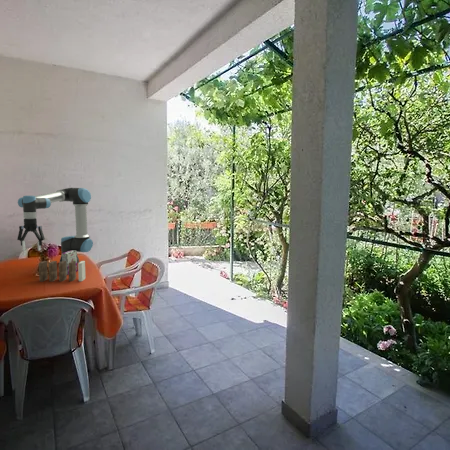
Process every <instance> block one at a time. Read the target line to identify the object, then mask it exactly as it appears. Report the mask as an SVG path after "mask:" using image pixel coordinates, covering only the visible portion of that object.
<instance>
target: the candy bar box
mask: <svg viewBox="0 0 450 450" xmlns="http://www.w3.org/2000/svg"><path fill="white" fill-rule="evenodd" d="M61 255H62V261H66V272H67V276H69V267H68V263H70V262H71V261H76V272H78V263H77V256H78V252H77V251H73V250H72V251H68V252H65V253H62V252H61Z"/></svg>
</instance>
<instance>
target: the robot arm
mask: <svg viewBox="0 0 450 450" xmlns="http://www.w3.org/2000/svg"><path fill="white" fill-rule="evenodd" d="M91 199H92V195H91V192H90V191H89V189H87V188H85V187H66V188H63V189H62V188H61V189H58V190H56V191H53V192H49V193H48V192H47V193H43V194H38V195H23V196H22V197H20V198H18V200H17V204H18V205H17V206H18V207H20V208H22V211H23V213H22V214H23V225H19V227H18V229H19V230H18V234H17V241H20V246H21V249H22V251H26V240H25V239H26V237H27V235H28V233H31V232H32V233H33V234H34V235H35V237H36V239H37V251H41V250H42V247H41V246H42V245H43V241H45V239H46V238H45V236H44V232H43V226H42V225H38V224H37V223H38V221H37V210H41V209H49V208H50V207H51V205H52V203H56V202H60V203H61V202H70V203H71V202H72V205H73V206H74V207H75V208H74V211H75V212H74V213H75V231H76V234H75V235H69V236H63V237H61V239H60V247H61V250H60V251H61V255H60V259H59V263H60V262H62V253H65V252H68V251H72V250H73V251H77V253H89V252H91V250H92V248H93V245H94V241H93V240H92V239H91V238H90V235H89V234H88V217H87V216H88V215H87V213H88V211H87V206H89V202H90V201H91ZM79 262H80V259H79V256H78V255H77V264H78V263H79Z"/></svg>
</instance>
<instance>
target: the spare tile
mask: <svg viewBox="0 0 450 450" xmlns="http://www.w3.org/2000/svg"><path fill="white" fill-rule="evenodd" d="M77 269H78V271H77V272H78V274H77V275H78V282H83V281H85V279H86V261H85V260H80V261H79V262H78V263H77Z"/></svg>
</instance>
